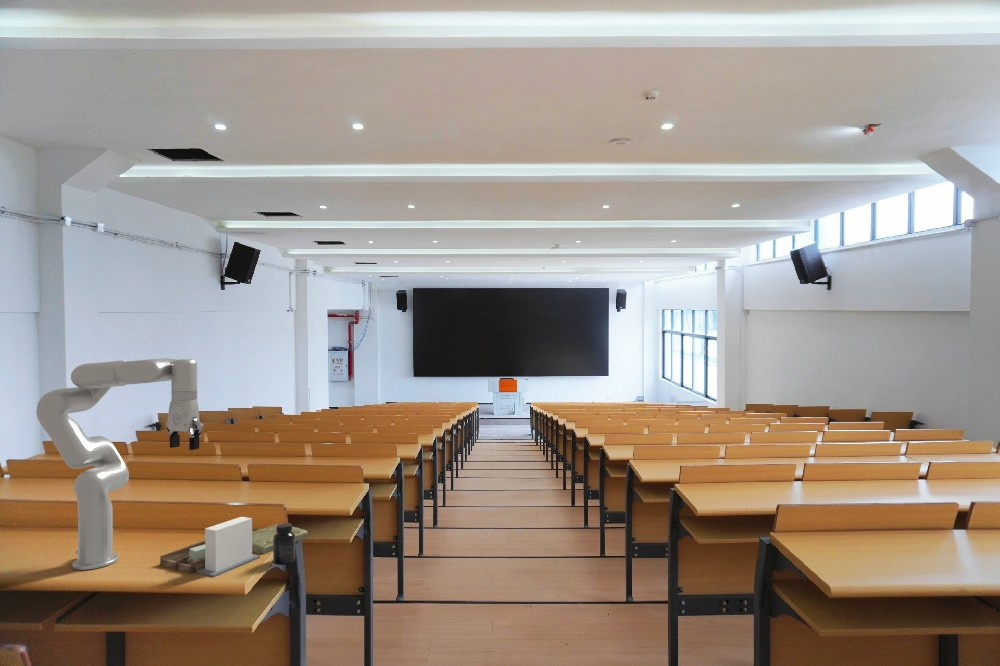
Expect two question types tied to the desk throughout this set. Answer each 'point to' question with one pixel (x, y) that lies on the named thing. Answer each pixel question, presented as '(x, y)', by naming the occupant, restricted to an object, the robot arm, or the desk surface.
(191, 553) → the offcut upper
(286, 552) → the supplement bottle
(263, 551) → the decorative tile
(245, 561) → the mat
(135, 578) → the desk surface
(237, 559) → the off-white rectangular prism
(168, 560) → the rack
